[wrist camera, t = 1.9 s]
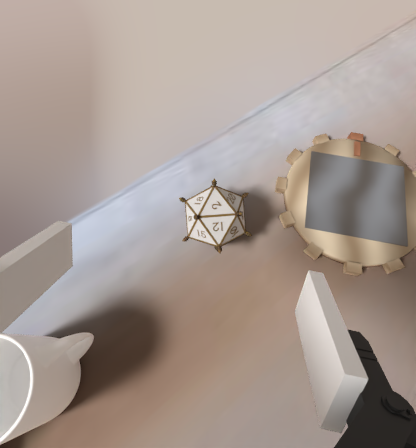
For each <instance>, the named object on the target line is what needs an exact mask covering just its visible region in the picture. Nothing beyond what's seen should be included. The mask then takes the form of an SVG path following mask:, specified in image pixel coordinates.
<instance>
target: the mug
mask: <svg viewBox="0 0 416 448" xmlns="http://www.w3.org/2000/svg"><path fill="white" fill-rule="evenodd" d="M83 339H84V340H83ZM81 340H82V341H81ZM93 340H94V336H93V334H91V333H86V332H85V333H77V334H73V335H69V336H66V337H63V338H60V339H58V338H55V337H48V336H34V335H19V334H4V333H1V334H0V445H1V444H3V443H5V442H7V441H9V440H11V439H13V438H15V437H18V436H20V435H22V434H24V433H26V432H28V431H30V430H32V429H34V428H36V427H38V426H40V425H43V424H45V423H47V422H49V421H50V420H52V419H54V418H55V417H57V416H58V415H59V414H60V413H62V412H63V411H64V410H65V409H66V408H67V406H68V405H69V404H70V403H71V401H72V400H73V398H74V396H75V394H76V392H77V390H78V387H79V383H80V378H81V367H80V361H79V359H80V358H81V357H82V356H83V355H84V354H85V353H86V352H87V350H88V349H89V348H90V346H91V345H92V343H93Z"/></svg>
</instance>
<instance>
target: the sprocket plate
mask: <svg viewBox="0 0 416 448" xmlns="http://www.w3.org/2000/svg"><path fill="white" fill-rule="evenodd" d="M312 142H313V144H314V146H312V147H310V148H309V149H307V150H306V151H304V152H303V153H301V152H300V151H298V150H297V149H294V150H293V151H292V152H291V153H290V155H289V156H288V157H287V160H286V161H287V162H288V163H290V164H291V165H292V167H291V169H290V171H289V173H288V176H287V178H282V177H278V179H277V181H276V188H275V192H277V193H283V194H284V202H285V207H286V211H287V212H284V213H281V215H280V216H279V218H280V220H281V222H282V224H283V226H284V229H285V228H288V227H291V226H293V227H294V228H295V230H296V231H297V232H298V234H299V235H300V236H301V237H302V238H303V240H304V241H305V242H306V243H307V244H308V246H307V247H306V248H305V249H304V251H303V252H305V253H306V254H307V255H308V256H310V257H311V258H312V259H314V260H316V259H317V258H318V257H319V256H320V254H322V255H324V256H326V257H328V258H330V259H331V260H334V261H337V262H339V263H343V273H344V274H350V275H355V276H359V275H361V274H362V267H373V266H380V265H382V266H383V268H384V270H385V272H386V273H387V274H389V273H392V272H394V271H397V270H400V269H402V268H405V267H404V265H403V263H402V262H401V260H400V258H401V257H403V256H404V255H406V254H407V253H409V252H410V251H411V250H412V249H413V250H415V251H416V171H413V172H412V171H411V170H410V169H409V168H408V167H407V166H406V165H405V164H404V163H403V162H402V161H401V160H400V159H399V158H397V157H396V155H397V154H398V152H399V150H398V149H396V148H394V147H393V146H391V145H390V144H388V145H387V146H386V147H385V148H384V149H383V148H381V147H379V146H376V145H374V144H371V143H368V142H365V141H363V134H358V133H352V132H351V133H350V135H349V136H348V138H347V139H333V140H329V138H328V136H327V134H322V135H319V136H315V138H314V139H313V141H312Z"/></svg>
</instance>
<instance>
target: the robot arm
mask: <svg viewBox="0 0 416 448" xmlns="http://www.w3.org/2000/svg"><path fill="white" fill-rule="evenodd" d="M72 266H73V265H72V225H71V223H67V222H62V221H57V222H56V223H54V224H52V225H51V226H49V227H48V228H46V229H45V230H43V231H41V232H40V233H38V234H37V235H35V236H33V237H32V238H30V239H29V240H27V241H26V242H24V243H22V244H21V245H19V246H18V247H16V248H15V249H13V250H11V251H10V252H8V253H7V254H5V255H3V256H2V257H0V334H1V333H2V332H3V331H4V330H5V329H6V328H7V327H8V326H9V325H10V324H11V323H12V322H13V321H15V320H16V319H17V318H18V317H19V316H20V315H21V314H22V313H23V312H24V311H25V310H26V309H27V308H28V307H29V306H30V305H32V304H33V303H34V302H35V301H36V300H37V299H38V298H39V297H40V296H41V295H42V294H43V293H44V292H45V291H46V290H48V289H49V288H50V287H51V286H52V285H53V284H54V283H55V282H56V281H57V280H58V279H59V278H60V277H61V276H62V275H63V274H65V273H66V272H67V271H68V270H69V269H70V268H71V267H72ZM295 315H296V319H297V324H298V329H299V333H300V338H301V343H302V347H303V352H304V356H305V361H306V366H307V370H308V375H309V379H310V384H311V389H312V393H313V398H314V402H315V407H316V412H317V416H318V421H319V426H320V428H321V429H325V430H330V431H334V432H339V433H342V431H343V429H344V427H345V425H346V423H347V424H348V428H347V430H346V431H345V433H344V434H343V436H342V437H341V438H340V440H339V441H338V443H337V444H336V446H335V447H334V448H416V414H415V412H414V409H413V408H412V406H411V405H410V404H409V403H408V401H407V400H405V399H404V398H403V397H402V396H401V395H399V394H398V393H396V392H394V391H392V388H391V386H390V384H389V382H388V380H387V378H386V376H385V374H384V372H383V370H382V368H381V366H380V364H379V362H377V358H376V356H375V354H373V350H372V348H371V346H370V344H369V342H368V341H367V340H366V339H365V338H364V337H363V335H362V334H361V333H360V332H357V331H352V330H347V328H346V325H345V323H344V321H343V318H342V316H341V314H340V311H339V309H338V307H337V304H336V302H335V300H334V297H333V295H332V293H331V290H330V288H329V286H328V283H327V281H326V279H325V276H324V274H323V273H320V272H315V271H310V270H308V273H307V276H306V279H305V282H304V285H303V288H302V291H301V294H300V297H299V300H298V304H297V307H296V310H295Z"/></svg>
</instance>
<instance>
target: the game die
mask: <svg viewBox="0 0 416 448" xmlns="http://www.w3.org/2000/svg"><path fill="white" fill-rule="evenodd" d="M216 182H217V181H216V180H215V179H214V180H213V181H212V184H213V186H212V185H211V187H210V188H208V189H206V190H204V191H202V192H201V193H199V194H197V195H195V196H193V197H191V198H189V199H188V200H185V198H179V199H180V200H181V201H182V202H185V208H186V221H187V234H188V236H187V237H185V238H184V239H183V241H187V240H188V239H189V238H191V239H194V240H197V241H200V242H203V243H207V244H210V245H213V246H215V247H214V248H215V249H216V250H217V251H218V252H219V253H221V251H222V248H221V246H223V245H225V244H226V243H228V242H230V241H232V240H234V239H236V238H237V237H239V236H241V235H243V234H246V236H252V235H251V233H250V232H246V226H245V213H244V201H243V198H245V197H246V196H247V195H248V193H244V194H243V195H242V196H240V195H238V194H235V193H233V192H230V191H228V190H225V189H223V188H220V187H218V186H216V184H217V183H216Z"/></svg>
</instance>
